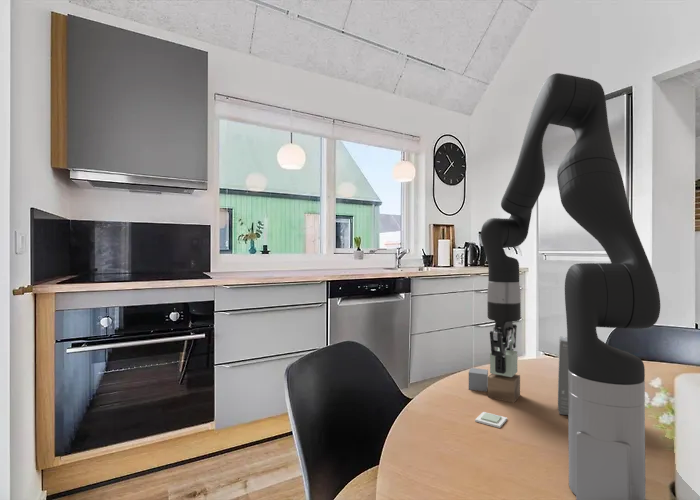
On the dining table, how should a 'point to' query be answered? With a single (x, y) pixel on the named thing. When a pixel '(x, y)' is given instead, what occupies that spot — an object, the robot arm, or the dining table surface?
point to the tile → (491, 419)
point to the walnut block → (504, 387)
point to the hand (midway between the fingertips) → (504, 369)
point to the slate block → (478, 379)
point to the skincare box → (563, 377)
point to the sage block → (510, 363)
